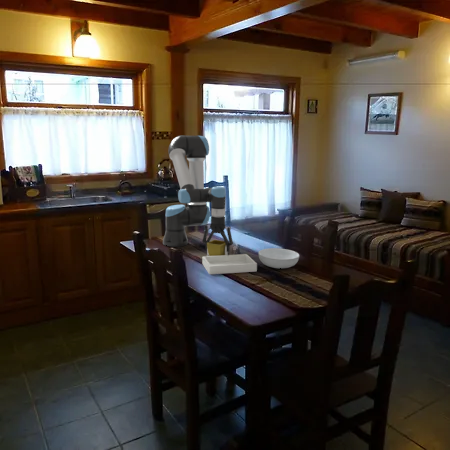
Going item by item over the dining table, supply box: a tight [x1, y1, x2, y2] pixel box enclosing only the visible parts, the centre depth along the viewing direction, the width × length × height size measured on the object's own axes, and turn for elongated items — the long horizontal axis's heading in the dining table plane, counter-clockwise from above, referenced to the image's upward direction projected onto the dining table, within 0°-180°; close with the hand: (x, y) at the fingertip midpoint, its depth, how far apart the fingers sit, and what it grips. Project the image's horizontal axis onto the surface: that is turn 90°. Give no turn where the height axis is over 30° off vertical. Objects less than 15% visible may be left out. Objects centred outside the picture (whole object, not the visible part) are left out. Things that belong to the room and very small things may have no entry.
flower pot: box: [207, 239, 226, 256], centre depth 232 cm, size 9×9×9 cm
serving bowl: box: [258, 247, 300, 269], centre depth 221 cm, size 21×21×7 cm
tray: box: [201, 253, 258, 275], centre depth 217 cm, size 17×24×4 cm
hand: (217, 256), depth 232 cm, fingers closed on flower pot, 9 cm apart
